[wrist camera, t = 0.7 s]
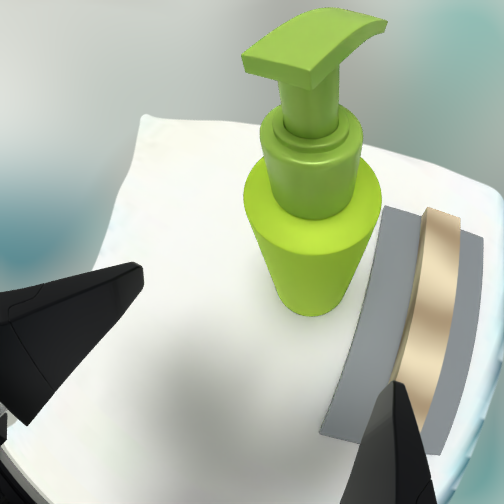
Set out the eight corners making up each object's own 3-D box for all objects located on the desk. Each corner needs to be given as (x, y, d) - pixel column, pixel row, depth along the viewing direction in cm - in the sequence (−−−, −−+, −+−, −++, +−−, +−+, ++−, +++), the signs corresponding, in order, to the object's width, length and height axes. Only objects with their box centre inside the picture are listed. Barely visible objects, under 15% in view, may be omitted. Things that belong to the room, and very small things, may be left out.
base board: (436, 453, 15) (439, 455, 15) (319, 431, 19) (319, 434, 18) (479, 241, 21) (483, 237, 21) (382, 209, 25) (384, 205, 24)
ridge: (403, 451, 16) (410, 456, 14) (364, 444, 17) (369, 450, 15) (453, 226, 22) (460, 218, 20) (421, 216, 23) (427, 206, 21)
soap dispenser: (365, 262, 23) (446, 30, 5) (319, 330, 22) (373, 147, 4) (309, 227, 25) (290, -10, 7) (262, 289, 24) (140, 73, 6)
